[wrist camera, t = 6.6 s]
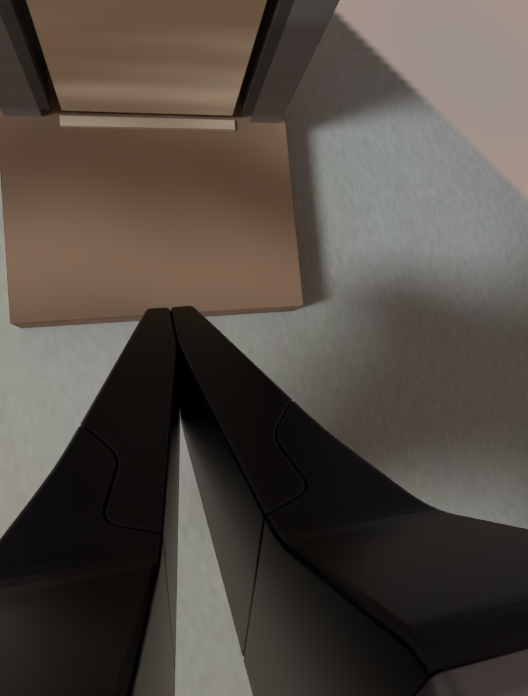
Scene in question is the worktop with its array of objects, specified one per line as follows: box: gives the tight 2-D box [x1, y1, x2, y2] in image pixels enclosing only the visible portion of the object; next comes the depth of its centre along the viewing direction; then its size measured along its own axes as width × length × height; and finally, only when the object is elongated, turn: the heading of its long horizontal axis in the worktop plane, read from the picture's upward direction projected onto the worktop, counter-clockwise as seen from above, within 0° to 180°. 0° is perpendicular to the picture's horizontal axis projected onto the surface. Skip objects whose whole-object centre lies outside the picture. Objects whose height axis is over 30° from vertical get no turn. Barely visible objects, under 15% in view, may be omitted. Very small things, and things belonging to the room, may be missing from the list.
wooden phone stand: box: [0, 0, 339, 328], centre depth 11 cm, size 8×9×10 cm
